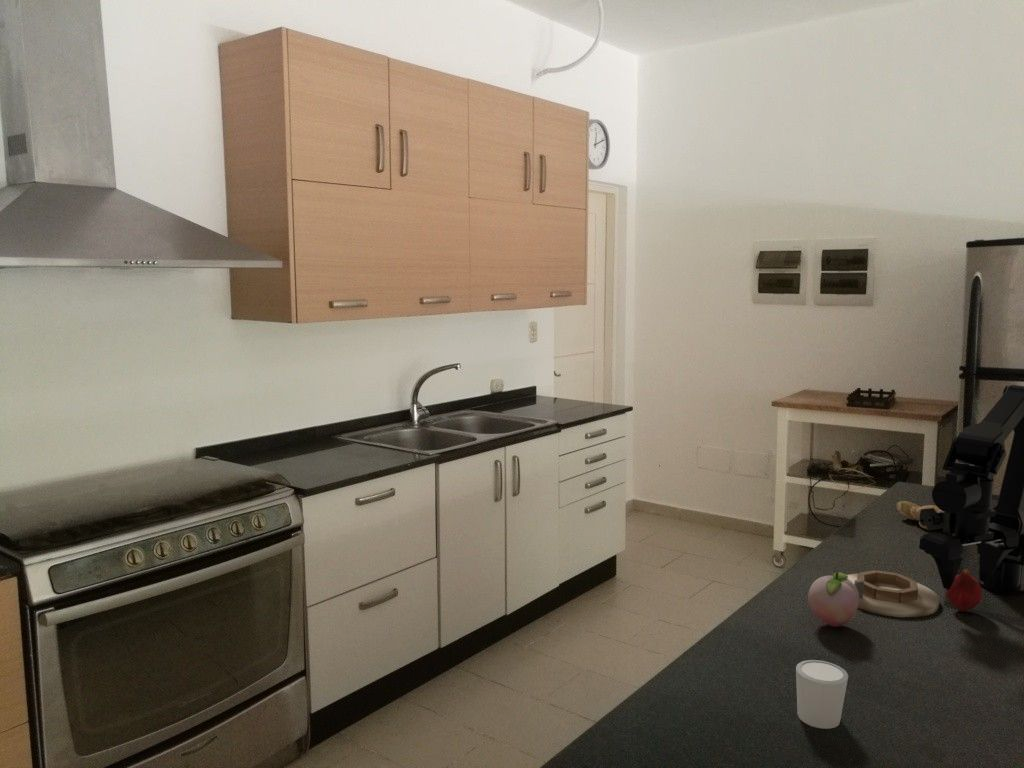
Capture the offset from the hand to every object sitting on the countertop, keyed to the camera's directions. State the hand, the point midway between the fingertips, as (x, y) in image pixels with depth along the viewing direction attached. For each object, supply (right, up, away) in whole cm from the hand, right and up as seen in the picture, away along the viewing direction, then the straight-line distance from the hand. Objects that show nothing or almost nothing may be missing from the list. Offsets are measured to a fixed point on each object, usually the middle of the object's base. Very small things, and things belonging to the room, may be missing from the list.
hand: (964, 585), depth 151 cm
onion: (0, -5, +1) cm, 5 cm away
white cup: (-39, -10, -35) cm, 53 cm away
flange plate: (-11, -4, +7) cm, 14 cm away
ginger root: (+21, +2, +49) cm, 53 cm away
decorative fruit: (-27, -6, -6) cm, 28 cm away
